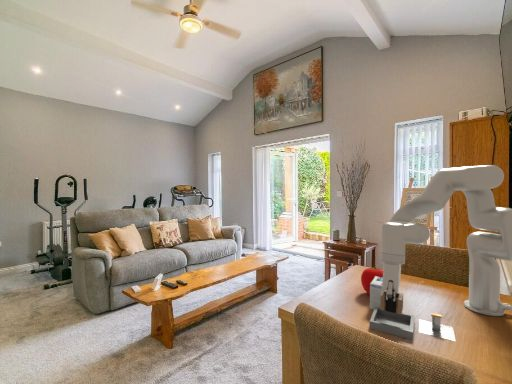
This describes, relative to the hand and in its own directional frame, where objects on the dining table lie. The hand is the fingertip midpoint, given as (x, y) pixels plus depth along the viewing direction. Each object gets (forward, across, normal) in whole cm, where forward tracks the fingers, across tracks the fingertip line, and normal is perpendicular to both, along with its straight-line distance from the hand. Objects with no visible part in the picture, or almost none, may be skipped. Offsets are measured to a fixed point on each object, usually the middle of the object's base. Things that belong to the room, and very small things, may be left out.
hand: (391, 307), depth 93 cm
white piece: (+7, -5, +13) cm, 16 cm away
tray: (+8, 0, 0) cm, 8 cm away
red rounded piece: (+8, -27, -10) cm, 30 cm away
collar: (0, 0, 0) cm, 0 cm away
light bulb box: (+8, -17, -6) cm, 19 cm away
